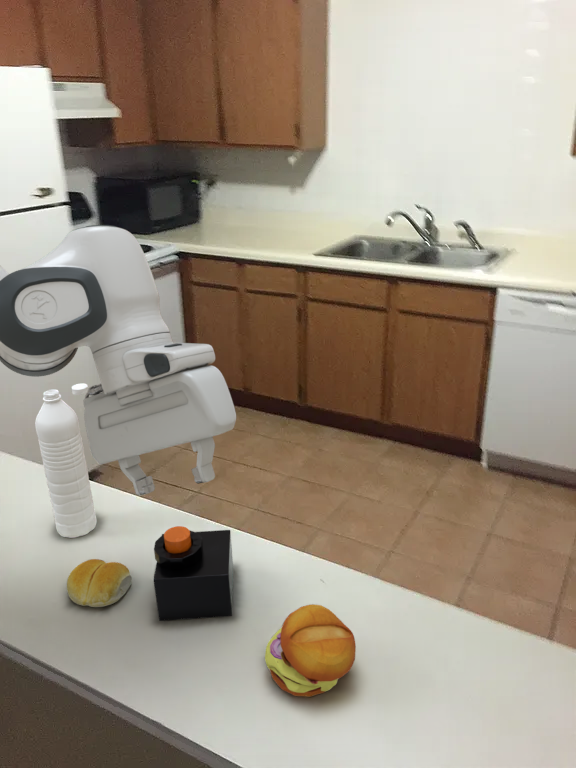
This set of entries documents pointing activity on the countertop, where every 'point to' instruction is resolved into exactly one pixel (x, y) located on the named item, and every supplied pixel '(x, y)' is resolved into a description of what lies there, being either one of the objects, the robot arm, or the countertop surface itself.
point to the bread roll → (98, 583)
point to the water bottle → (65, 464)
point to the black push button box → (195, 577)
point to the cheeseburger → (310, 651)
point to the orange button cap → (177, 539)
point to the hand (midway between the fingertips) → (175, 487)
